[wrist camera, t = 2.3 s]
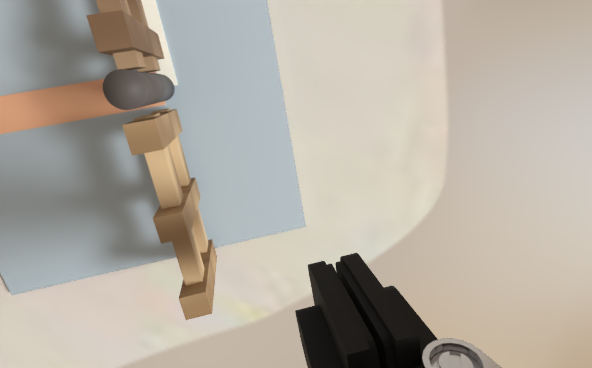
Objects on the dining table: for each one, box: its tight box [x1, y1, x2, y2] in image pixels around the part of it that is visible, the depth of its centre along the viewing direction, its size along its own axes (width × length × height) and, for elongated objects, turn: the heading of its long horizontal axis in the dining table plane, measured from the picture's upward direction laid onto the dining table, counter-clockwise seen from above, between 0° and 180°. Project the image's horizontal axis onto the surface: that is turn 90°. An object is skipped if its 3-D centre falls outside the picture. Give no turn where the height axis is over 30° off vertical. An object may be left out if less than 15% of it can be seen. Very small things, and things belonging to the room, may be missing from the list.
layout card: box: [0, 0, 306, 295], centre depth 18 cm, size 20×18×1 cm
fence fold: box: [122, 108, 217, 320], centre depth 17 cm, size 9×1×6 cm, turn 10°
